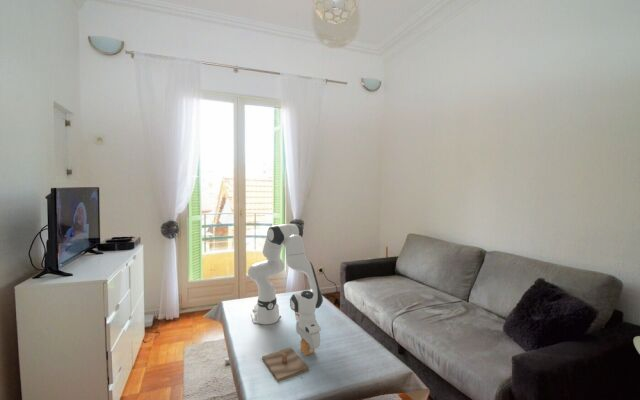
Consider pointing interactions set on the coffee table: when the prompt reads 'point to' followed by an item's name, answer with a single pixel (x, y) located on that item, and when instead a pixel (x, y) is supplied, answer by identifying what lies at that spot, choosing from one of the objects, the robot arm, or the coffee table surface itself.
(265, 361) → the post block
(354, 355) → the coffee table surface
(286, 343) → the coffee table surface
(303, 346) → the wooden toy cube
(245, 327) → the coffee table surface
